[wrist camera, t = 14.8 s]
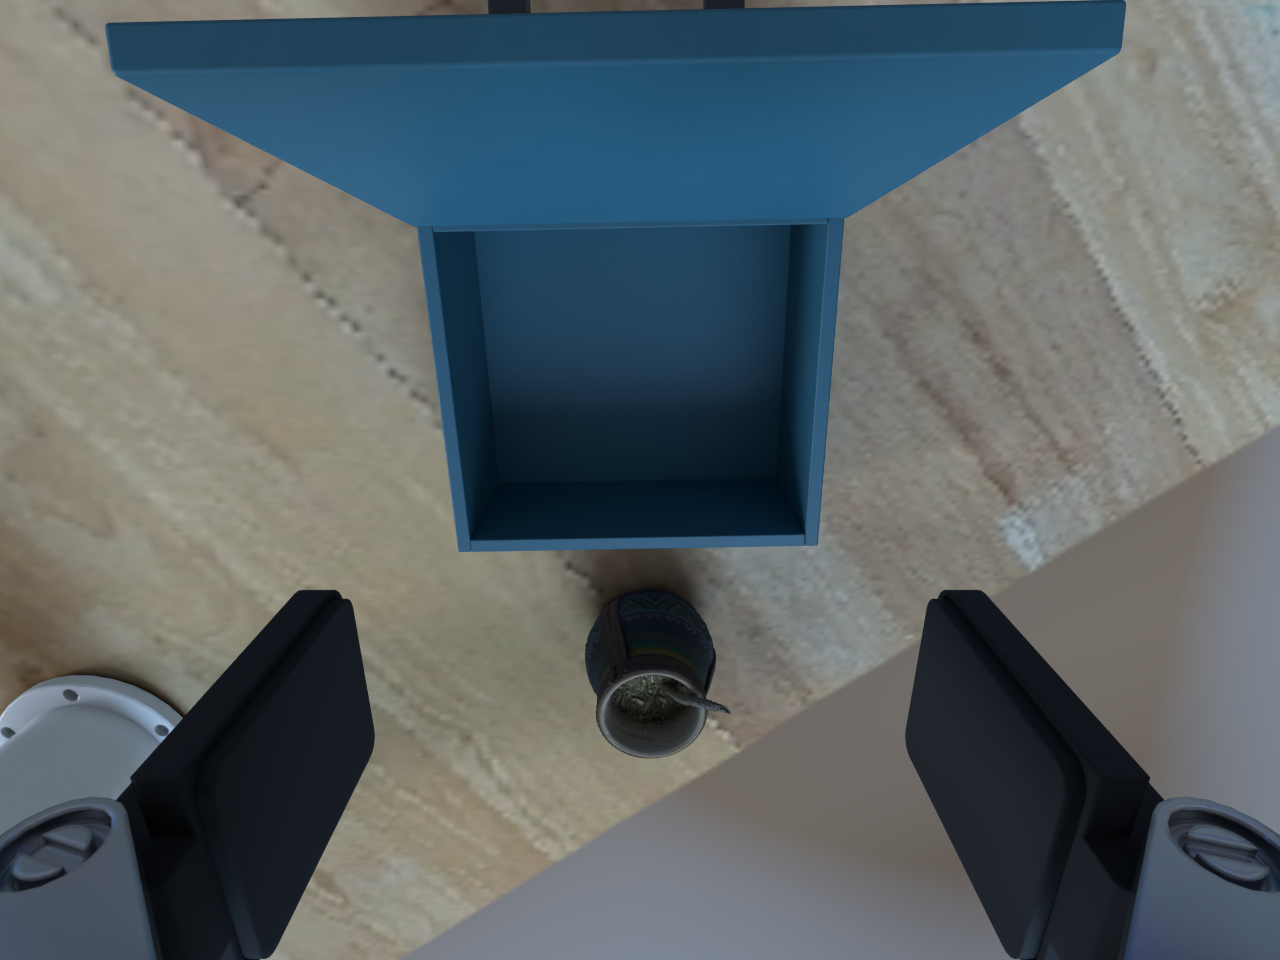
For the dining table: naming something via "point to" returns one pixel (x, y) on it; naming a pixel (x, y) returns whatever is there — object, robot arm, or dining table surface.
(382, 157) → the lid
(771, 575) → the dining table surface
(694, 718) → the mate gourd
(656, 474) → the blue open rectangular box
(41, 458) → the dining table surface
